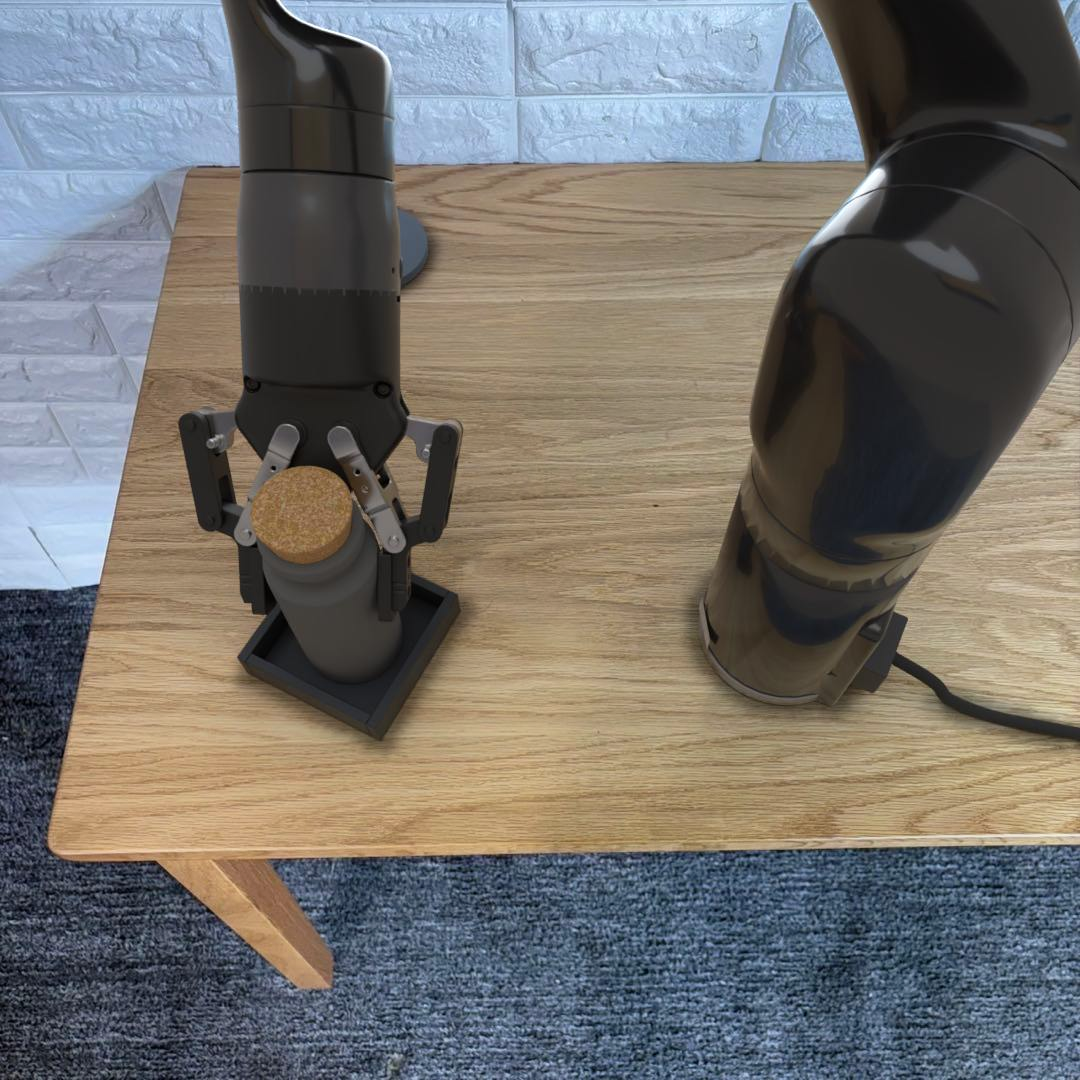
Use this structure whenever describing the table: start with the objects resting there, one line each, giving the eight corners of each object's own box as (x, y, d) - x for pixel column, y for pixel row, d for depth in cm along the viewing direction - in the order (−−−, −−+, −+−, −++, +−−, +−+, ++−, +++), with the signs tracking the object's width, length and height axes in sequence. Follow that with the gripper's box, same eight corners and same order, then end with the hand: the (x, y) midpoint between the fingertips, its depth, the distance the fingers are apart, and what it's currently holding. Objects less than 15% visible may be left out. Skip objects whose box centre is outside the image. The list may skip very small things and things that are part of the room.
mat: (448, 235, 76) (447, 227, 75) (391, 309, 72) (389, 301, 72) (355, 199, 78) (353, 191, 77) (294, 270, 74) (292, 262, 74)
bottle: (389, 694, 57) (343, 573, 44) (291, 675, 58) (218, 550, 45) (415, 604, 60) (379, 465, 47) (322, 587, 61) (261, 445, 48)
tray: (461, 611, 60) (458, 593, 58) (380, 742, 56) (374, 728, 54) (333, 550, 62) (326, 531, 60) (246, 672, 58) (236, 657, 56)
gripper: (137, 274, 44) (161, 632, 49) (462, 287, 44) (456, 647, 48) (200, 273, 51) (215, 585, 56) (479, 284, 51) (472, 597, 55)
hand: (327, 612), depth 52 cm, fingers closed on bottle, 6 cm apart
